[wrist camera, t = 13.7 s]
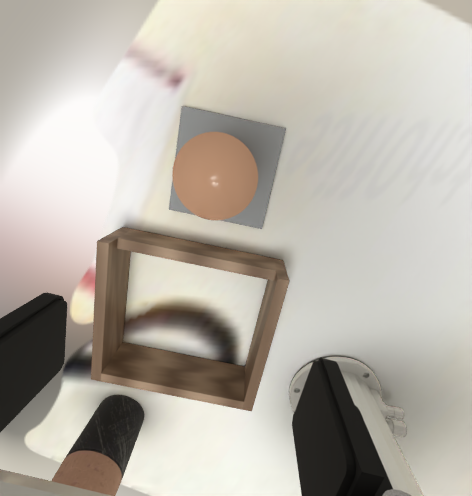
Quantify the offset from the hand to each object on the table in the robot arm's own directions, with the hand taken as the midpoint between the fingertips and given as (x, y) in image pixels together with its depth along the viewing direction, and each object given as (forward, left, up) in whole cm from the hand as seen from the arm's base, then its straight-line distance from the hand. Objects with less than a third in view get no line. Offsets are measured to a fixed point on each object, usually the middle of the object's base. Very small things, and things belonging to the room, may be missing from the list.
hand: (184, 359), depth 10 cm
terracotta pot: (+2, -5, -23) cm, 24 cm away
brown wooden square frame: (+3, +13, -24) cm, 27 cm away
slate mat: (+2, -5, -24) cm, 25 cm away
